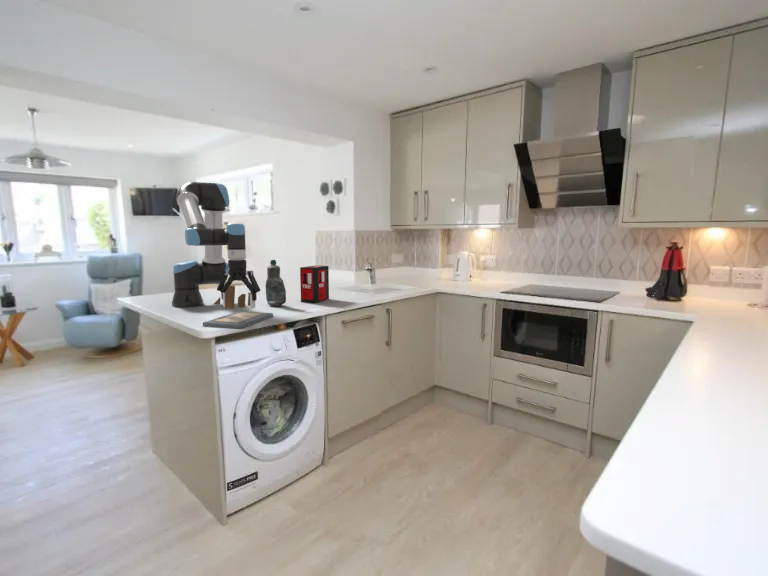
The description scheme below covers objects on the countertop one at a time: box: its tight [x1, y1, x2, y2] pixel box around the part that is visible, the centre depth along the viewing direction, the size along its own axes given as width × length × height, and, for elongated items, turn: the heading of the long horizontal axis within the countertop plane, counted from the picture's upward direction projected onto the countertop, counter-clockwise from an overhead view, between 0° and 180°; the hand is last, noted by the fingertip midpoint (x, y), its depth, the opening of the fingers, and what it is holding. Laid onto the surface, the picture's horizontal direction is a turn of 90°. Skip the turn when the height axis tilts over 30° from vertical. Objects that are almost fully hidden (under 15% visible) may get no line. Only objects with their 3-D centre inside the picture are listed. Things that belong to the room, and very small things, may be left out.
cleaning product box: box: [299, 265, 330, 304], centre depth 232 cm, size 16×9×20 cm, turn 159°
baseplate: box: [202, 310, 274, 330], centre depth 177 cm, size 18×26×2 cm
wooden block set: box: [212, 285, 251, 310], centre depth 181 cm, size 18×9×10 cm, turn 112°
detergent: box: [265, 259, 287, 307], centre depth 214 cm, size 13×7×25 cm, turn 67°
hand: (239, 307), depth 177 cm, fingers open, 13 cm apart
